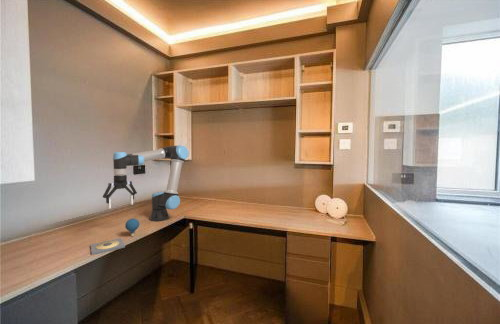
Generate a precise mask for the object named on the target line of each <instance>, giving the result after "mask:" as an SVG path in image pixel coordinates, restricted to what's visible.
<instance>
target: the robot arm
mask: <svg viewBox="0 0 500 324" xmlns="http://www.w3.org/2000/svg"><path fill="white" fill-rule="evenodd" d="M189 154H190V153H189V150H188V148H187V147H186V146H185V145H180V144H179V145H168V146H163V147H159V148H158V149H155V150H147V151H141V152H135V153H133V152H132V153H128V154H127V152H125V151H124V152H123V151H115V152H113V155H112V161H113V163H112V164H113V182H112V183H111V182H108V183H107V187H106V189H105V192H104V193H103V195H102V198H104V199H105V202H106V204H107V208H108V209H111V207H112V204H111V202H112V201H111V199H112V198H111V197H112V195H113V194H114V193H115V192H116V191H117V190H121V189H125V190H126V191H127V192H128V193H129V194H130V195H129V205H132V206H133V205H134V199H135V196H136V195H137V194H138V192H137V190H136V188H135V187H134V185H133V181H132V180H131V181H130V180H127V179H128V178H127V177H128V175H127V174H128V173H127V172H128V170H127V167H129V166H131V167H133V166H142V165H144V163H145V162H148V161H152V160H158V159H161V160H163V159H164V160H165V159H166V160H167V159H169V160H170V162H171V164H170V171H169V174H168V180H167V185H166V189H165V191H160V192H159V191H157V192H153V193H152V194H151V213H150V216H149V221H152V222H162V221H165V220H168V219H169V218H170V215H169V212H168V210H175V209H177V208H178V207H179V205H180V203H181V198H180V196H179V192H178V189H179V182H180V178H181V177H180V176H181V172H182V167H183V164H184V163H185V160H187V158H188V157H189ZM127 185H128V186H129V187H128V186H127Z"/></svg>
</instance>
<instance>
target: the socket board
mask: <svg viewBox="0 0 500 324" xmlns="http://www.w3.org/2000/svg"><path fill="white" fill-rule="evenodd" d="M123 248H126V245H125V243H124V241H123V239H122V238H121V237H120V238H115V239H110V240H105V241H100V242H95V243H91V244H90V250H91V256H94V255H97V254H102V253H107V252H112V251H115V250H120V249H123Z"/></svg>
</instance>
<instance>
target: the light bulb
mask: <svg viewBox="0 0 500 324" xmlns="http://www.w3.org/2000/svg"><path fill="white" fill-rule="evenodd" d="M139 227H140V221H139V219H137V218H129V219H128V220H126V222H125V227H124V228H125V229H126V230H127V231H129V233H130V236H131V237H134V236H135V232H136V230H137V229H139Z"/></svg>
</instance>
